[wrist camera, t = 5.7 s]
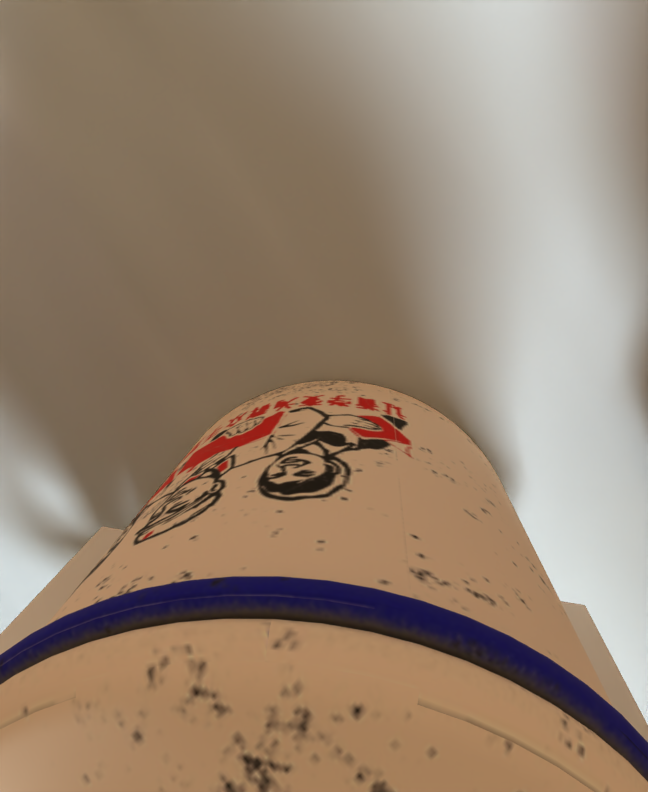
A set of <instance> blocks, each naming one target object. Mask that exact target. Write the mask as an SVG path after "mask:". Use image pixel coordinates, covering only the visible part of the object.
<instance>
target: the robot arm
mask: <svg viewBox="0 0 648 792" xmlns="http://www.w3.org/2000/svg"><path fill="white" fill-rule="evenodd" d="M123 531H124V530H121V529H115V528H109V527H101V528H100V529H99V530H98V531H97V532H96V534H95V535H94V536H93V537H92V538H91V539H90V540H89V541H88V542H87V543H86V544H85V545H84V546H83V547H82V548H81V549H80V550H79V552H78V553H77V554H76V555H75V556H74V557H73V558H72V559H71V560H70V561H69V562H68V563H67V564H66V565H65V566H64V567H63V568H62V570H61V571H60V572H59V573H58V574H57V575H56V576H55V577H54V578H53V579H52V580H51V581H50V582H49V583H48V584H47V585H46V587H45V588H44V589H43V590H42V591H41V592H40V593H39V594H38V595H37V596H36V597H35V598H34V599H33V600H32V601H31V602H30V603H29V605H28V606H27V607H26V608H25V609H24V610H23V611H22V612H21V613H20V614H19V615H18V616H17V617H16V618H15V619H14V620H13V621H12V623H11V624H10V625H9V626H8V627H7V628H6V629H5V630H4V631H3V632H2V633H1V634H0V655H1V654H2V653H4V652H5V651H6V650H8V649H9V648H11V647H12V646H14V645H15V644H17V643H18V642H20V641H21V640H23V639H24V638H25V637H27V636H28V635H30V634H31V633H33V632H35V631H37V630H39V629H41V628H43V627H44V626H46V625H47V624H48V622H49V621H50V620H51V619H52V618H53V616H54V615H55V614H56V613H57V612H58V610H59V609H60V608H61V607H62V605H63V604H64V603H65V602H66V601H67V599H68V598H69V597H70V596H71V595H72V593H73V592H74V591H75V590H76V588H77V587H78V586H79V585H80V584H81V582H82V581H83V580H84V579H85V578H86V576H87V575H88V574H89V573H90V571H91V570H92V569H93V568H94V567H95V565H96V564H97V563H98V562H99V561H100V559H101V558H102V557H103V556H104V554H105V553H106V552H107V551H108V550H109V548H110V547H111V546H112V545H113V544H114V542H115V541H116V540H117V539H118V537H119V536H120V535H121V534H122V533H123ZM560 602H561V604H562V606H563V608H564V610H565V612H566V614H567V616H568V618H569V620H570V622H571V624H572V626H573V628H574V630H575V632H576V634H577V636H578V638H579V640H580V642H581V644H582V646H583V648H584V650H585V652H586V654H587V656H588V658H589V660H590V662H591V664H592V666H593V668H594V670H595V672H596V674H597V676H598V678H599V680H600V682H601V684H602V686H603V688H604V690H605V692H606V694H607V696H608V698H609V700H610V702H611V704H612V706H613V707H614V708H615V709H616V710H617V711H618V712H619V713H621V714H622V715H623V716H624V718H625V719H626V720H627V721H628V722H629V723H630V724H631V725H632V726H633V727H634V728H635V729H636V730H637V731H638V732H639V733H640V735H641V736H642V737H643V738H644V739H645V740H646V741H647V742H648V725H647V723H646V721H645V719H644V717H643V715H642V713H641V711H640V710H639V708H638V706H637V704H636V702H635V700H634V698H633V696H632V694H631V692H630V690H629V689H628V687H627V685H626V683H625V681H624V679H623V677H622V675H621V673H620V671H619V669H618V668H617V666H616V664H615V662H614V660H613V658H612V656H611V654H610V652H609V650H608V648H607V647H606V645H605V643H604V641H603V639H602V637H601V635H600V633H599V631H598V629H597V627H596V626H595V624H594V622H593V620H592V618H591V616H590V614H589V612H588V610H587V608H586V606H585V605H581V604H575V603H568V602H562V601H560Z"/></svg>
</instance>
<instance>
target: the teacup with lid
mask: <svg viewBox="0 0 648 792" xmlns="http://www.w3.org/2000/svg"><path fill="white" fill-rule="evenodd" d="M0 792H648V742H647V741H646V740H645V739H644V738H643V737H642V736H641V735H640V733H639V732H638V731H637V730H636V729H635V728H634V727H633V726H632V725H631V724H630V723H629V722H628V721H627V720H626V719H625V718H624V716H623V715H622V714H621V713H619V712H618V711H617V710H616V709H615V708H614V707H613V706H612V704H611V702H610V700H609V698H608V696H607V694H606V692H605V690H604V688H603V686H602V684H601V682H600V680H599V678H598V676H597V674H596V672H595V670H594V668H593V666H592V664H591V662H590V660H589V658H588V656H587V654H586V652H585V650H584V648H583V646H582V644H581V642H580V640H579V638H578V636H577V634H576V632H575V630H574V628H573V626H572V624H571V622H570V620H569V618H568V616H567V614H566V612H565V610H564V608H563V606H562V604H561V602H560V600H559V598H558V596H557V594H556V592H555V590H554V588H553V586H552V584H551V582H550V580H549V578H548V576H547V574H546V572H545V570H544V568H543V566H542V564H541V562H540V560H539V558H538V556H537V554H536V552H535V550H534V548H533V546H532V544H531V542H530V540H529V538H528V536H527V534H526V532H525V530H524V528H523V526H522V524H521V522H520V520H519V518H518V516H517V514H516V512H515V510H514V508H513V506H512V504H511V502H510V500H509V498H508V496H507V494H506V492H505V490H504V488H503V486H502V484H501V482H500V480H499V478H498V476H497V474H496V472H495V471H494V469H493V467H492V465H491V464H490V462H489V461H488V459H487V458H486V457H485V455H484V454H483V452H482V451H481V450H480V449H479V447H478V446H477V445H476V444H475V443H474V442H473V441H472V440H471V439H470V437H469V436H468V435H467V434H466V433H465V432H463V431H462V430H461V429H460V428H459V427H458V426H457V425H456V424H455V423H453V422H452V421H451V420H449V419H448V418H447V417H445V416H444V415H443V414H441V413H440V412H438V411H437V410H435V409H433V408H432V407H430V406H428V405H427V404H425V403H423V402H421V401H419V400H417V399H414V398H412V397H410V396H408V395H406V394H403V393H400V392H397V391H394V390H392V389H388V388H384V387H380V386H377V385H373V384H366V383H360V382H354V381H337V380H333V381H314V382H306V383H299V384H294V385H290V386H286V387H281V388H279V389H276V390H273V391H270V392H267V393H264V394H262V395H260V396H257V397H255V398H253V399H251V400H249V401H247V402H245V403H244V404H242V405H240V406H238V407H237V408H235V409H233V410H232V411H231V412H229V413H228V414H226V415H225V416H224V417H222V418H221V419H220V420H218V421H217V422H216V423H215V424H214V425H213V426H212V427H211V428H210V429H209V430H207V431H206V433H205V434H204V435H203V436H202V437H201V438H200V439H199V440H198V442H197V443H196V444H195V445H194V446H193V448H192V449H191V450H190V451H189V452H188V454H187V455H186V456H185V457H184V458H183V460H182V461H181V462H180V463H179V465H178V466H177V467H176V468H175V469H174V471H173V472H172V473H171V474H170V476H169V477H168V478H167V479H166V480H165V482H164V483H163V484H162V485H161V486H160V488H159V489H158V490H157V491H156V493H155V494H154V495H153V496H152V497H151V499H150V500H149V501H148V502H147V503H146V505H145V506H144V507H143V508H142V510H141V511H140V512H139V513H138V514H137V516H136V517H135V518H134V519H133V520H132V522H131V523H130V524H129V525H128V527H127V528H126V529H125V530H124V531H123V533H122V534H121V535H120V536H119V537H118V539H117V540H116V541H115V542H114V544H113V545H112V546H111V547H110V548H109V550H108V551H107V552H106V553H105V554H104V556H103V557H102V558H101V559H100V561H99V562H98V563H97V564H96V565H95V567H94V568H93V569H92V570H91V571H90V573H89V574H88V575H87V576H86V578H85V579H84V580H83V581H82V582H81V584H80V585H79V586H78V587H77V588H76V590H75V591H74V592H73V593H72V595H71V596H70V597H69V598H68V599H67V601H66V602H65V603H64V604H63V605H62V607H61V608H60V609H59V610H58V612H57V613H56V614H55V615H54V616H53V618H52V619H51V620H50V621H49V622H48V624H47V625H46V626H44V627H43V628H41V629H39V630H37V631H35V632H33V633H31V634H30V635H28V636H27V637H25V638H24V639H23V640H21V641H20V642H18V643H17V644H15V645H14V646H12V647H11V648H9V649H8V650H6V651H5V652H4V653H2V654H1V655H0Z"/></svg>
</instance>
